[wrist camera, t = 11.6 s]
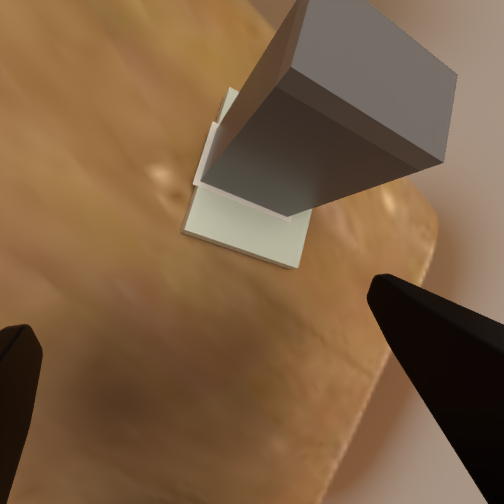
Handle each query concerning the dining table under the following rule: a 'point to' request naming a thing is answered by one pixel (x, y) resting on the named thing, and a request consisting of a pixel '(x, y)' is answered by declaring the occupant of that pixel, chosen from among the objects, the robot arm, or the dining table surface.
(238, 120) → the block
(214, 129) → the board
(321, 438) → the dining table surface
